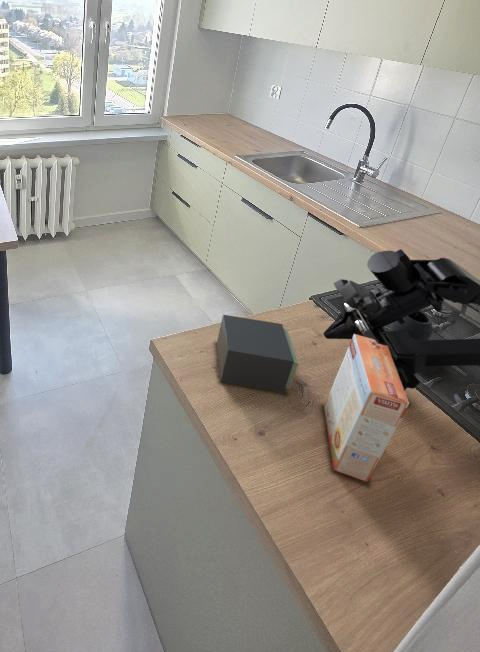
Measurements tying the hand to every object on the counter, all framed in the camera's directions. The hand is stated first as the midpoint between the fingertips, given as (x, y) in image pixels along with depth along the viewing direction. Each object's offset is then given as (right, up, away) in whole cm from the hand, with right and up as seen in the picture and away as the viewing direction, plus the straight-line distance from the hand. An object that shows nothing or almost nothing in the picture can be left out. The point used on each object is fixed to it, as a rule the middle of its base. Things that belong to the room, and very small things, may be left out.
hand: (324, 336), depth 89 cm
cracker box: (-1, -18, -8) cm, 19 cm away
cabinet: (-14, -10, +7) cm, 19 cm away
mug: (+28, -9, +15) cm, 33 cm away
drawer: (-12, -9, +7) cm, 16 cm away
